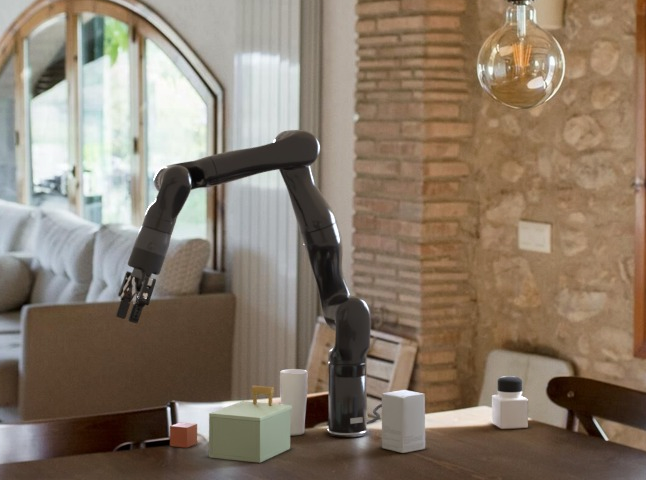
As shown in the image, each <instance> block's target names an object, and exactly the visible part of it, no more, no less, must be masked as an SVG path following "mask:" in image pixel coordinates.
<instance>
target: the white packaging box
mask: <svg viewBox="0 0 646 480" xmlns="http://www.w3.org/2000/svg"><path fill="white" fill-rule="evenodd" d="M425 395H426V394H425V393H422V392H417V391H412V390H407V389H400V390H393V391H389V392H382V393H381V404H382V407H381V449H385V450H389V451H393V452H397V453H401V454H405V453H411V452H415V451H417V452H418V451H422V450H425V449H426V404H425V403H426V396H425Z"/></svg>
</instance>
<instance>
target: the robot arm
mask: <svg viewBox="0 0 646 480" xmlns="http://www.w3.org/2000/svg"><path fill="white" fill-rule="evenodd" d="M320 152H321V145H320V142H319V140H318V138H317V137H316V136H315V134H313V133H312V132H310V131H308V130H304V129H289V130H284V131H281V132H280V133H278V134H277V135H276V137H274V140H273V142H270V143H266V144H263V145H259V146H254V147H248V148H242V149H235V150H229V151H224V152H219V153H216V154H212V155H208V156H204V157H201V158H198V159H196V160H189V161H183V162H178V163H173V164H168V165H165V166H162V167H161V168H160V169H159V170H158V171H157V172H156V173H155V175H154V178H153V184H154V187H155V189H156V191H157V192H158V193H157V195H156V197H155V200H154V202H152V203H151V204H150V205H149V206H148V208H147V210H146V212H145V214H144V217H143V220H142V223H141V226H140V229H139V230H138V233H137V234H136V235H137V236H136V237H135V239H134V243H133V247H132V249H131V252H130V255H129V258H128V260H127V266H128V267H130V268H133V270H132V271H126V272H125V275H124V278H123V281H122V283H121V286H120V289H119V292H118V293H117V297H119V300H120V301H119V303H118V307H117V310H116V312H115V317H116V318H118V319H122V320H124V319H126V318H127V314H128V312H129V308H130V306H131V302H132V301H133V304H132V306H131V309H130V312H129V315H128V318H127V321H128V322H130V323H133V324H138V323H139V320H140V318H141V316H142V312H143V308H145V307H146V306H149V304H150V302H151V299H152V295H153V292H154V289H155V286H156V283H157V279H156V278H153V277H152V275H156V276H158V275H160V274H161V271H162V268H163V266H164V262H165V260H166V257H167V253H168V250H169V247H170V244H171V243H170V242H171V238H172V235H173V231H174V229H175V226H176V223H177V219H178V216H179V215H180V213H181V211H182V210H183V207H184V205H185V204H186V202H187V200H188V198H189V196H190V194H191V191H193V190H196V189H201V188H202V189H203V188H212V187H213V188H214V187H216V186H220V185H224V184H227V183H231V182H234V181H235V182H236V181H239V180H242V179H244V178H245V179H246V178H249V177H252V176H255V175H258V174H262V173H263V174H264V173H268V172H271V171H272V172H273V171H279V173H280V175H281V178H282V180H283V182H284V184H285V187H286V190H287V192H288V195H289V199H290V204H291V206H292V210H293V214H294V216H295V219H296V222H297V227H298V230H299V233H300V236H301V237H300V238H301V240H302V243H303V247H304V249H305V252H306V256H307V258H308V261H309V265H310V267H311V270H312V274H313V276H314V280H315V283H316V287H317V290H318V296H319V302H320V305H321V311H322V316H323V319H324V321H325V323H326V325H327V326H328V327H329V328H330V329H331V330H332V331H334V332H335V334H334V336H335V337H334V345H333V347H332V348H331V349H329V351H328V361H327V362H328V367H327V369H328V379H327V381H328V388H327V389H328V392H327V393H328V395H327V396H328V399H327V401H328V406H327V407H328V416H327V417H328V418H327V419H328V421H327V423H328V424H327V425H328V428H327V434H328V435H329V436H332V437H336V438H358V437H359V438H360V437H364V436H366V435H367V434H368V427H367V425H369V424H373V423H375V422H377V421H378V420H379V419H380V417H381V415H380V414H379V412H377V411H378V410H379V409H380V408H382V403H380V404H378V405H377V406H376V407H375V408H373V410H372V413H373V415H374V416H375V417H374V418H372V419H371V420H369V421H368V419H367V417H368V416H367V414H368V413H367V412H368V408H367V405H368V403H367V401H368V399H367V398H368V397H367V395H368V394H367V393H368V392H367V390H368V387H367V386H368V382H367V381H368V379H367V378H368V375H367V374H368V373H367V372H368V371H367V370H368V369H367V366H368V365H367V364H368V362H367V359H368V353H369V352H370V348H371V347H370V346H371V328H372V327H371V326H372V325H371V324H372V318H371V310H370V307H369V305H368V303H367V302H366V300H364V299H363V298H361V297H358V296H356V295H352V294H351V291H350V289H349V287H348V283H347V282H346V278H345V275H344V270H343V249H344V247H343V238H342V234H341V230H340V227H339V223H338V221H337V218H336V215H335V212H334V211H333V209H332V207H331V206H330V204H329V202H328V201H327V199H326V198H325V196H324V195H323V193H322V192H321V190H320V189H319V187H318V185H317V183H316V181H315V177H314V175H313V172H312V168H311V166H312V165H314V163H316V161H317V160H318V158H319V156H320Z"/></svg>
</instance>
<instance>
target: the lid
mask: <svg viewBox="0 0 646 480" xmlns="http://www.w3.org/2000/svg"><path fill="white" fill-rule="evenodd" d="M274 393H275V388H274V387H273V386H264V385H252V386H251V394H252V401H247V400H246V401H244V400H241V401H239V402H237V403H234V404H233V403H232V404H231V405H228V406H225V407H223V408H220V409H217V410H213V411H211V412H209V413H208V418H209V417H218V418H228V419H239V420H250V421H262V420H265V419H267V418H270V417H272V416H275V415H277V414H280V413H282V412H285V411H287V410H290V409H292V405H282V404H281V403H273V395H274ZM258 395H266V396H268V402H258Z"/></svg>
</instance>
